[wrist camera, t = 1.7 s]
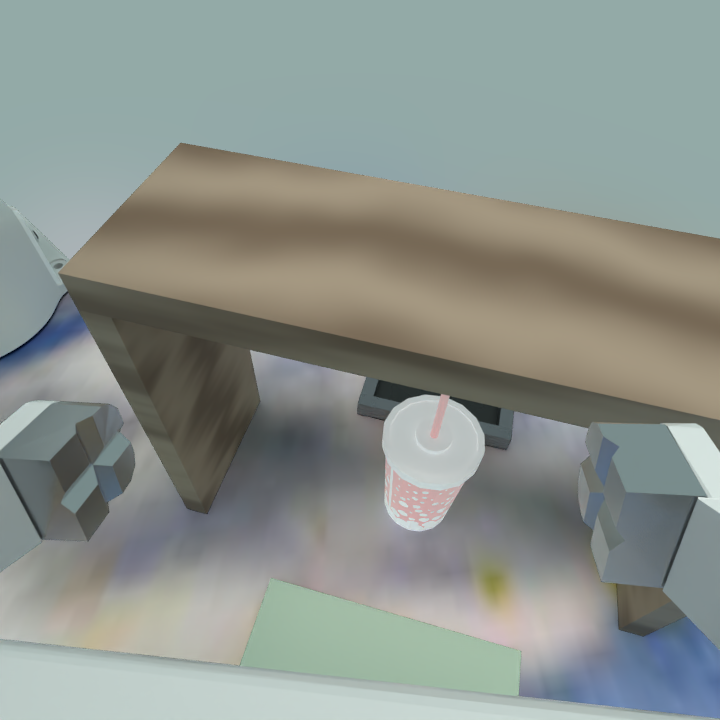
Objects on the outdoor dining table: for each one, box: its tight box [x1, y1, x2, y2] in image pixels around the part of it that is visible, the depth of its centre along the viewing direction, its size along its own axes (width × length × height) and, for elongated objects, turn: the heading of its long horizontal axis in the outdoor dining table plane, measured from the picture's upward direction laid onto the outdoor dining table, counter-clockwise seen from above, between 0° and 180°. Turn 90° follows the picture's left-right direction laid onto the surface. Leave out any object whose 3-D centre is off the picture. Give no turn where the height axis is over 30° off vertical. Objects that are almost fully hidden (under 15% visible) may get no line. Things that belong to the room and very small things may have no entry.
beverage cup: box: [382, 394, 485, 531], centre depth 33 cm, size 6×6×14 cm
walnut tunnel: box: [58, 143, 720, 636], centre depth 29 cm, size 10×31×22 cm, turn 75°
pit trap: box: [357, 377, 514, 450], centre depth 44 cm, size 11×12×2 cm
